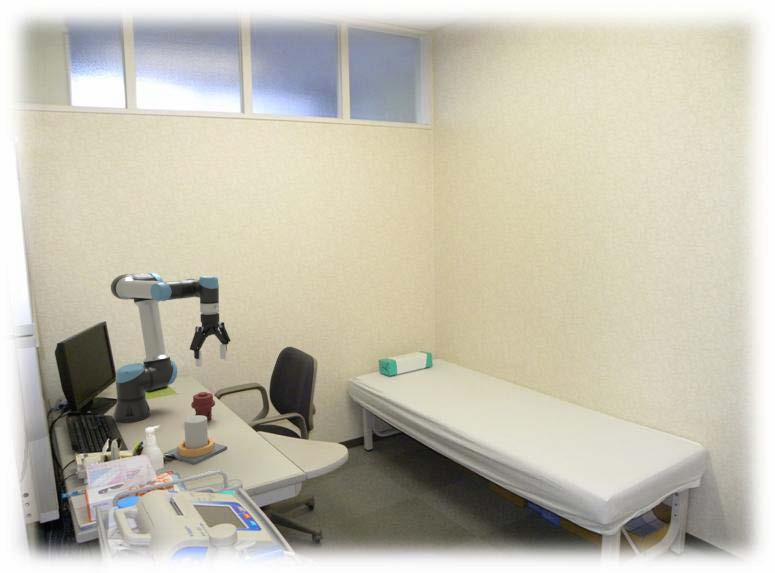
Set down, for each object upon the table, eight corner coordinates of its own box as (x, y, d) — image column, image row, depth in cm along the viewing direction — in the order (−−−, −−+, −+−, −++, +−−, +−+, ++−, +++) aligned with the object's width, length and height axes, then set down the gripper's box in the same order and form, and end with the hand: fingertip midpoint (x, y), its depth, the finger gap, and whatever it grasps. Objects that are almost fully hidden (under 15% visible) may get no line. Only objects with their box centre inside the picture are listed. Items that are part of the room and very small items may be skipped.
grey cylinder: (200, 443, 214) (199, 413, 213) (212, 448, 209) (211, 418, 208) (181, 449, 208) (180, 419, 207) (193, 455, 203) (191, 424, 201)
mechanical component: (219, 417, 246) (208, 424, 237) (199, 415, 248) (187, 423, 239) (218, 390, 245) (207, 397, 235) (198, 389, 247) (186, 395, 237)
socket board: (164, 455, 205) (164, 446, 205) (197, 440, 219) (197, 432, 219) (194, 464, 198) (194, 455, 197) (227, 448, 212) (226, 440, 211)
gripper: (192, 318, 215) (194, 370, 217) (237, 309, 236) (239, 357, 239) (179, 316, 218) (181, 368, 221) (225, 308, 240) (226, 355, 242)
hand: (211, 362), depth 230 cm, fingers open, 13 cm apart
